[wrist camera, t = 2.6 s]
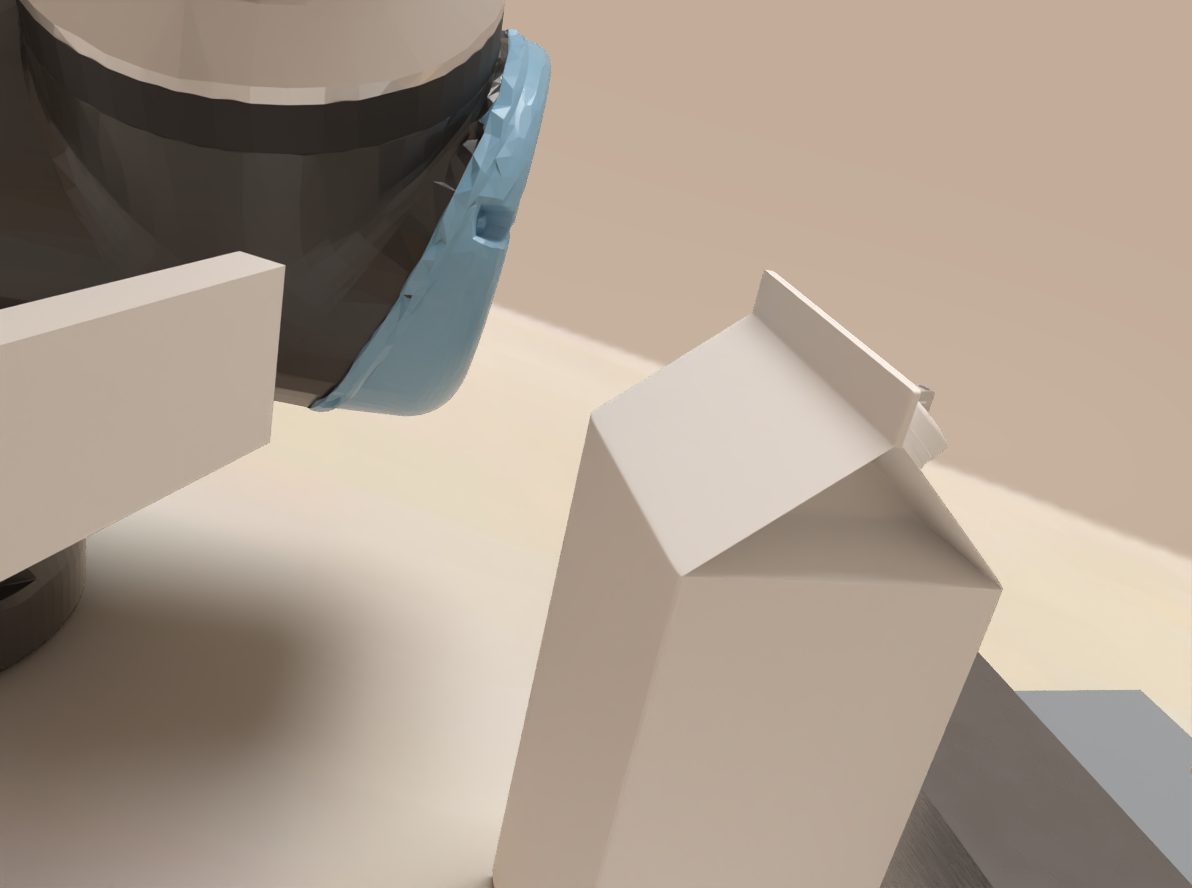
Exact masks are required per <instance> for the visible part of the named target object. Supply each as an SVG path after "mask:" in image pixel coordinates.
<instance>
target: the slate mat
mask: <svg viewBox="0 0 1192 888" xmlns="http://www.w3.org/2000/svg"><path fill="white" fill-rule="evenodd" d="M1014 692H1015V693H1016V694H1017V695H1018V696H1019V697H1020V698H1021V699H1022V700H1023V701H1024V703H1025V704H1026V705H1027V706H1028V707H1029V708H1030V709H1031V710H1032V711H1033V712H1034V713H1035V715H1036V716H1037V717H1038V718H1039V719H1040V720H1041V721H1042V722H1043V723H1044V724H1045V725H1046V727H1047V728H1048V729H1049V730H1050V731H1051V732H1052V733H1053V734H1054V735H1055V736H1056V737H1057V739H1058V740H1059V741H1060V742H1061V743H1062V744H1063V745H1064V746H1065V747H1066V748H1067V749H1068V751H1069V752H1070V753H1071V754H1072V755H1073V756H1074V757H1075V758H1076V759H1077V760H1078V761H1079V762H1080V764H1081V765H1082V766H1083V767H1084V768H1085V769H1086V770H1087V771H1088V772H1089V773H1090V774H1091V776H1092V777H1093V778H1094V779H1095V780H1096V781H1097V782H1098V783H1099V784H1100V785H1101V786H1102V788H1103V789H1104V790H1105V791H1106V792H1107V793H1108V794H1109V795H1110V796H1111V797H1112V798H1113V800H1114V801H1115V802H1116V803H1117V804H1118V805H1119V806H1120V807H1121V808H1122V809H1123V810H1124V811H1125V813H1126V814H1127V815H1128V816H1129V817H1130V818H1131V819H1132V820H1133V821H1134V822H1135V823H1136V825H1137V826H1138V827H1139V828H1140V829H1141V830H1142V831H1143V832H1144V833H1145V834H1146V835H1147V837H1148V838H1149V839H1150V840H1151V841H1152V842H1153V843H1154V844H1155V845H1156V846H1157V847H1158V849H1159V850H1160V851H1161V852H1162V853H1163V854H1164V855H1165V856H1166V857H1167V858H1168V859H1169V860H1170V862H1171V863H1172V864H1173V865H1174V866H1175V867H1176V868H1177V869H1178V870H1179V871H1180V872H1181V874H1182V875H1183V876H1184V877H1185V878H1186V879H1187V880H1188V881H1189V882H1190V883H1191V884H1192V775H1191V771H1190V769H1191V767H1192V738H1191V737H1190V736H1189V735H1188V734H1187V733H1186V732H1185V731H1184V730H1183V729H1182V728H1181V727H1180V726H1179V725H1177V724H1176V723H1175V722H1174V721H1173V720H1172V719H1171V718H1170V717H1169V716H1168V715H1167V714H1166V713H1165V712H1163V711H1162V710H1161V709H1160V708H1159V707H1158V706H1157V705H1156V704H1155V703H1154V702H1153V701H1152V700H1151V699H1149V698H1148V697H1147V696H1146V695H1145V694H1144V693H1143V692H1142V691H1141V690H1076V691H1014Z"/></svg>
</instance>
